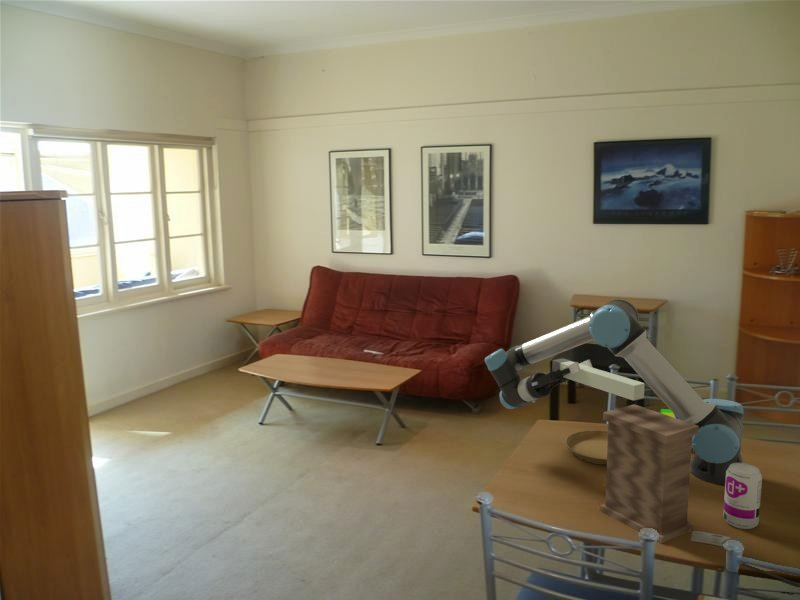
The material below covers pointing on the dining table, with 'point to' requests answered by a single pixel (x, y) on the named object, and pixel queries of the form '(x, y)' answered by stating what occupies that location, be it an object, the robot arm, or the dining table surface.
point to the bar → (603, 380)
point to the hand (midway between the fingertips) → (584, 365)
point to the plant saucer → (589, 445)
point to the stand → (648, 470)
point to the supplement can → (742, 495)
